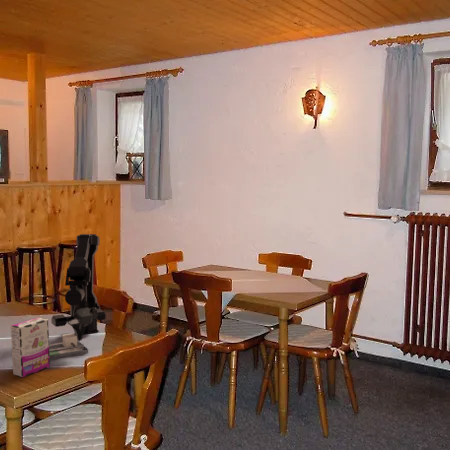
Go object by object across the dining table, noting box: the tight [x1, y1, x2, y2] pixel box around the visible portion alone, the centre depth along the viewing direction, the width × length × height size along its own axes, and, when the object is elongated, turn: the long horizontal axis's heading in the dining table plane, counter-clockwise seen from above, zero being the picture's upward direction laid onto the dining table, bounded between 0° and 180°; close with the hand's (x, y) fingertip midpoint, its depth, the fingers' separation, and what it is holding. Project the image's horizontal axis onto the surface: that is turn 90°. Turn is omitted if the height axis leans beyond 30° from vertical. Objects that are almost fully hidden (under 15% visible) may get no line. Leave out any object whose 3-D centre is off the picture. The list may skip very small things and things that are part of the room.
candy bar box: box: [10, 316, 51, 378], centre depth 175 cm, size 11×5×16 cm, turn 148°
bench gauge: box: [49, 339, 89, 360], centre depth 194 cm, size 19×13×5 cm
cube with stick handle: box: [62, 332, 78, 347], centre depth 195 cm, size 4×8×4 cm, turn 33°
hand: (79, 340), depth 199 cm, fingers closed
